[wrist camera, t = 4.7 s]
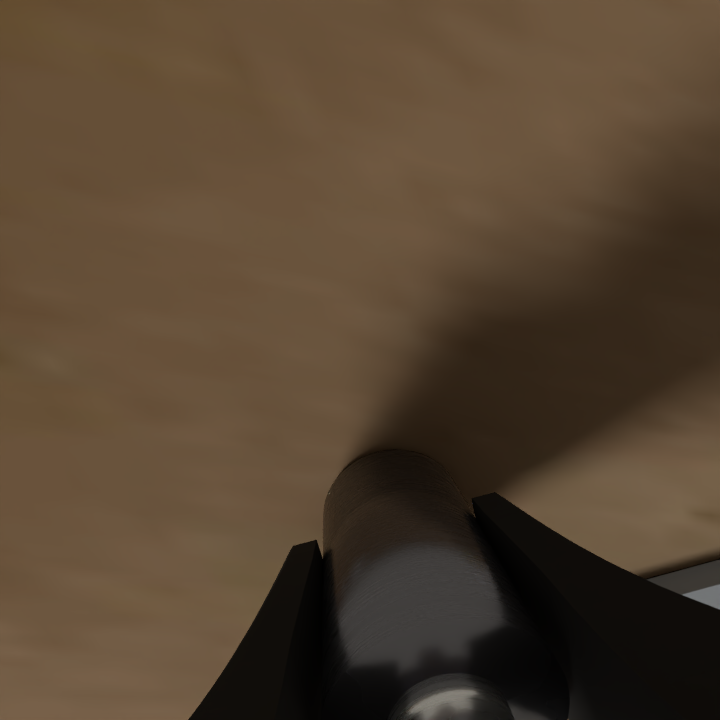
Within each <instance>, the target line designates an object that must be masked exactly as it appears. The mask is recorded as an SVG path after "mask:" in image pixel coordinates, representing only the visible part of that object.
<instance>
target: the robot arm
mask: <svg viewBox="0 0 720 720" xmlns="http://www.w3.org/2000/svg"><path fill="white" fill-rule="evenodd" d="M472 503H473V508H474V513H475V518H476V520H477V522H478V524H479V525H480V527H481V529H482V531H483V532H484V534H485V536H486V538H487V539H488V541H489V543H490V544H491V546H492V548H493V550H494V551H495V553H496V555H497V557H498V558H499V560H500V562H501V563H502V565H503V567H504V569H505V570H506V572H507V574H508V576H509V577H510V579H511V581H512V582H513V584H514V586H515V588H516V589H517V591H518V593H519V595H520V596H521V598H522V600H523V601H524V603H525V605H526V607H527V608H528V610H529V612H530V613H531V615H532V617H533V619H534V620H535V622H536V624H537V626H538V627H539V629H540V631H541V632H542V634H543V636H544V638H545V639H546V641H547V643H548V645H549V646H550V648H551V650H552V651H553V653H554V655H555V657H556V658H557V660H558V662H559V664H560V665H561V667H562V669H563V672H564V674H565V676H566V679H567V683H568V687H569V696H570V707H569V715H568V720H720V609H717V608H714V607H712V606H709V605H707V604H704V603H702V602H699V601H696V600H694V599H691V598H689V597H686V596H683V595H681V594H678V593H676V592H674V591H671V590H669V589H666V588H664V587H662V586H659V585H657V584H655V583H653V582H650V581H648V580H646V579H644V578H642V577H639V576H637V575H635V574H633V573H631V572H629V571H626V570H624V569H622V568H620V567H618V566H616V565H614V564H612V563H610V562H608V561H606V560H604V559H602V558H600V557H599V556H597V555H595V554H593V553H591V552H589V551H587V550H586V549H584V548H582V547H580V546H578V545H577V544H575V543H573V542H572V541H570V540H568V539H567V538H565V537H563V536H562V535H560V534H558V533H557V532H555V531H553V530H552V529H550V528H549V527H547V526H545V525H544V524H542V523H541V522H539V521H537V520H536V519H534V518H533V517H531V516H530V515H528V514H527V513H525V512H524V511H522V510H521V509H519V508H518V507H516V506H515V505H513V504H512V503H511V502H509V501H508V500H506V499H505V498H503V497H502V496H500V495H499V494H497V493H495V492H494V493H490V494H486V495H483V496H479V497H475V498H472ZM322 600H323V559H322V555H321V552H320V549H319V546H318V543H317V540H314V541H310V542H306V543H303V544H299V545H295V546H293V547H292V549H291V550H290V552H289V554H288V556H287V558H286V560H285V562H284V564H283V566H282V568H281V570H280V572H279V574H278V576H277V578H276V580H275V582H274V584H273V586H272V588H271V590H270V592H269V594H268V596H267V597H266V599H265V601H264V603H263V605H262V607H261V608H260V610H259V612H258V614H257V616H256V618H255V619H254V621H253V623H252V625H251V626H250V628H249V630H248V631H247V633H246V635H245V636H244V638H243V640H242V641H241V643H240V645H239V646H238V648H237V650H236V651H235V653H234V655H233V656H232V658H231V659H230V661H229V663H228V664H227V666H226V667H225V669H224V670H223V672H222V673H221V675H220V676H219V678H218V679H217V681H216V682H215V684H214V685H213V687H212V688H211V689H210V691H209V692H208V694H207V695H206V697H205V698H204V699H203V701H202V702H201V704H200V705H199V706H198V708H197V709H196V710H195V712H194V713H193V714H192V716H191V717H190V718H189V719H188V720H321V700H322Z"/></svg>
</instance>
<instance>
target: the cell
mask: <svg viewBox="0 0 720 720" xmlns="http://www.w3.org/2000/svg"><path fill="white" fill-rule="evenodd" d="M569 707H570V696H569V687H568V683H567V679H566V676H565V674H564V672H563V669H562V667H561V665H560V664H559V662H558V660H557V658H556V657H555V655H554V653H553V651H552V650H551V648H550V646H549V645H548V643H547V641H546V639H545V638H544V636H543V634H542V632H541V631H540V629H539V627H538V626H537V624H536V622H535V620H534V619H533V617H532V615H531V613H530V612H529V610H528V608H527V607H526V605H525V603H524V601H523V600H522V598H521V596H520V595H519V593H518V591H517V589H516V588H515V586H514V584H513V582H512V581H511V579H510V577H509V576H508V574H507V572H506V570H505V569H504V567H503V565H502V563H501V562H500V560H499V558H498V557H497V555H496V553H495V551H494V550H493V548H492V546H491V544H490V543H489V541H488V539H487V538H486V536H485V534H484V532H483V531H482V529H481V527H480V525H479V524H478V522H477V520H476V519H475V517H474V515H473V513H472V512H471V510H470V508H469V506H468V505H467V503H466V501H465V500H464V498H463V496H462V494H461V493H460V491H459V489H458V487H457V486H456V484H455V482H454V481H453V479H452V478H451V476H450V475H449V473H448V472H447V471H446V470H445V469H444V468H443V467H442V466H441V465H440V464H439V463H437V462H436V461H434V460H433V459H431V458H429V457H427V456H425V455H423V454H420V453H416V452H413V451H407V450H386V451H381V452H376V453H373V454H370V455H367V456H365V457H363V458H361V459H359V460H357V461H356V462H354V463H353V464H351V465H350V466H349V467H347V468H346V469H345V470H344V471H343V472H342V473H341V474H340V475H339V476H338V477H337V479H336V480H335V481H334V483H333V484H332V486H331V488H330V490H329V492H328V495H327V497H326V500H325V505H324V513H323V600H322V700H321V720H567V719H568V715H569Z"/></svg>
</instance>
